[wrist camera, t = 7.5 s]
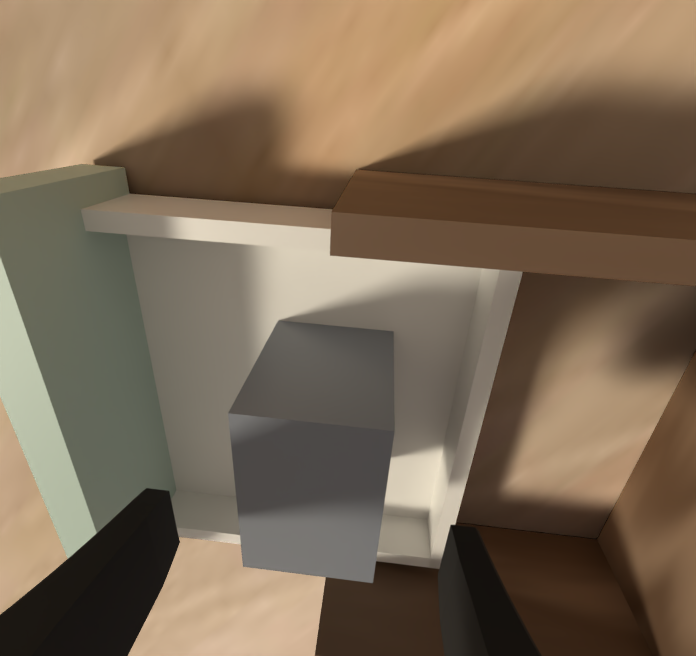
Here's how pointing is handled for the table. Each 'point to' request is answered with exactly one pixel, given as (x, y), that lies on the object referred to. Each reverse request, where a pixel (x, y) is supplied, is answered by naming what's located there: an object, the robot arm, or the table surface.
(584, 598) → the dock housing
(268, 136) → the table surface
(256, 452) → the grey upright block
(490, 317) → the tray
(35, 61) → the table surface
